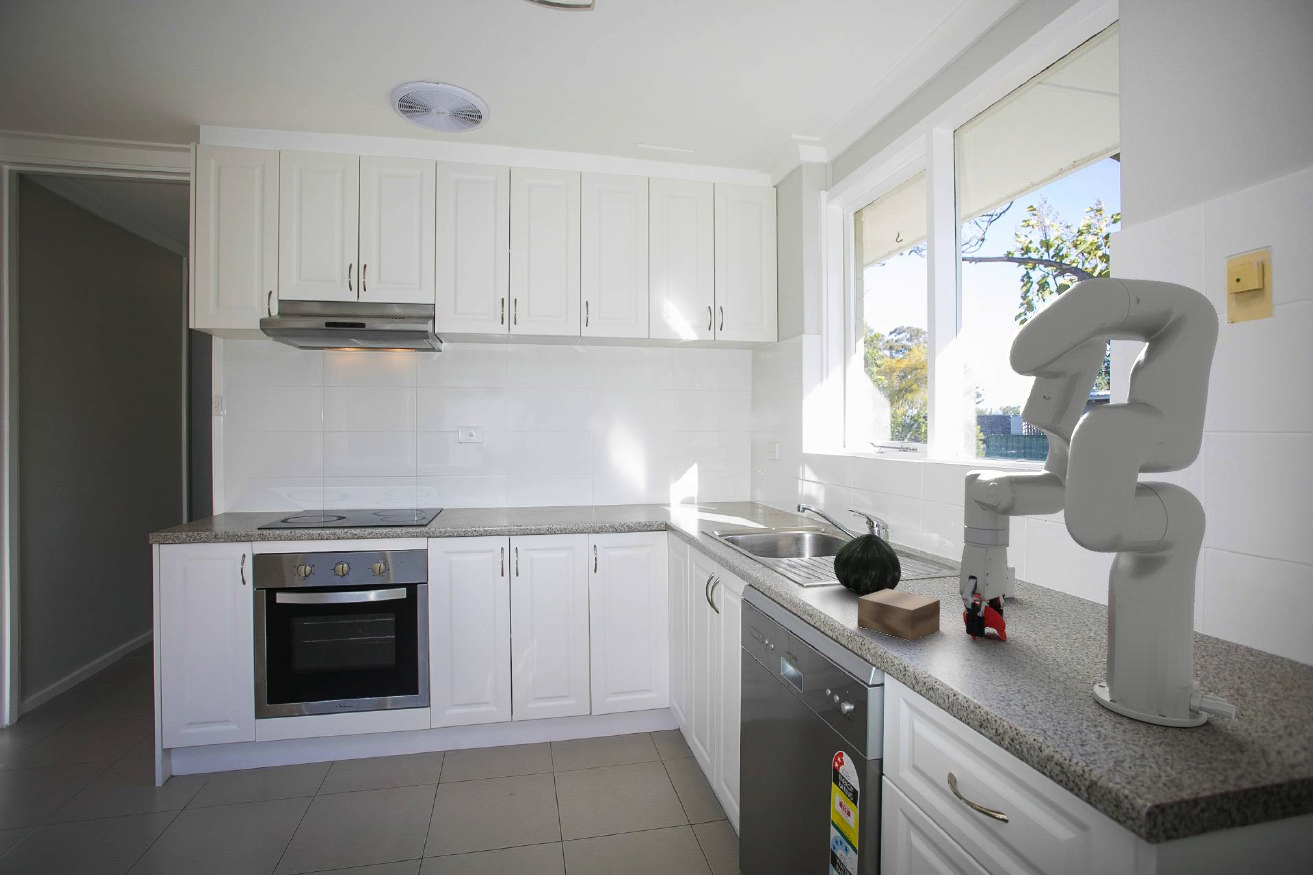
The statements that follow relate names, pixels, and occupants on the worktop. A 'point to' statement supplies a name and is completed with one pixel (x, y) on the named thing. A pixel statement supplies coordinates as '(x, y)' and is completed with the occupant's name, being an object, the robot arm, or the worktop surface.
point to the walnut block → (899, 614)
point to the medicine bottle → (1010, 582)
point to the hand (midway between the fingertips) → (984, 631)
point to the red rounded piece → (992, 621)
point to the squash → (867, 565)
